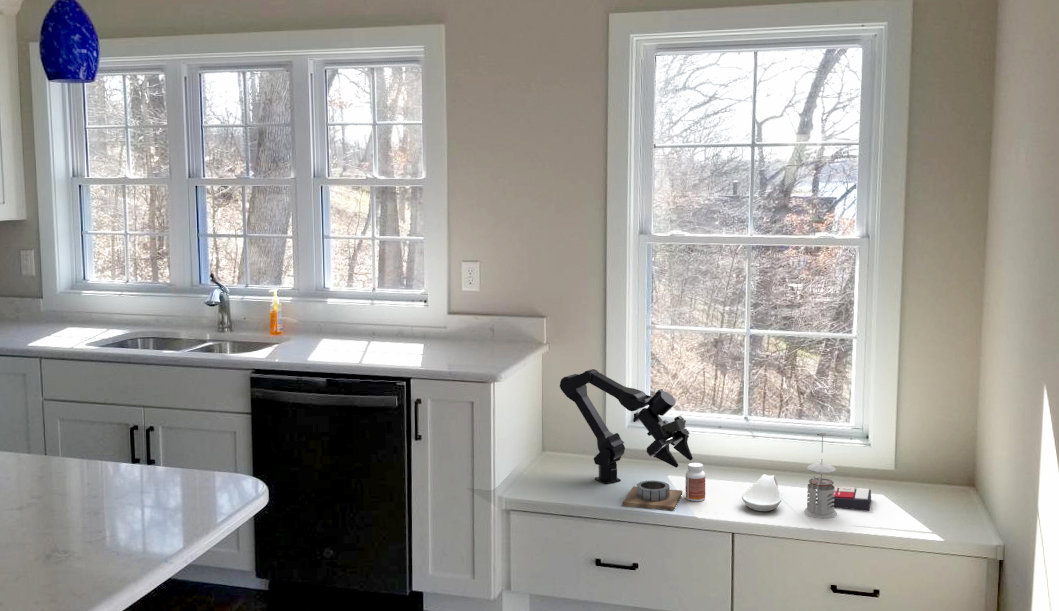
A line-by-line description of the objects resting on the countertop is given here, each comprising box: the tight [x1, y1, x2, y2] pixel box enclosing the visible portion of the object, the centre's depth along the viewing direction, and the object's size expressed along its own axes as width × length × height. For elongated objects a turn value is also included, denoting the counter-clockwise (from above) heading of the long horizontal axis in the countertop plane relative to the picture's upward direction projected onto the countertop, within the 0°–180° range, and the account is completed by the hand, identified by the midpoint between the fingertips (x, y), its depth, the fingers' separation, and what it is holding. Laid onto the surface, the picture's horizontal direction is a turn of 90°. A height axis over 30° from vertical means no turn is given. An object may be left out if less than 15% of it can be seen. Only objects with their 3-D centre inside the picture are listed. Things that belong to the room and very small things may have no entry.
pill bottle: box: [685, 462, 706, 502], centre depth 307 cm, size 6×6×11 cm
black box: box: [831, 485, 872, 512], centre depth 302 cm, size 11×4×15 cm
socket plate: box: [622, 485, 683, 511], centre depth 307 cm, size 16×16×1 cm
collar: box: [636, 479, 671, 502], centre depth 306 cm, size 10×10×4 cm
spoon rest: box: [741, 473, 782, 512], centre depth 303 cm, size 24×12×7 cm, turn 158°
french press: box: [803, 431, 838, 519], centre depth 291 cm, size 10×12×25 cm
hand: (684, 463), depth 308 cm, fingers open, 9 cm apart
